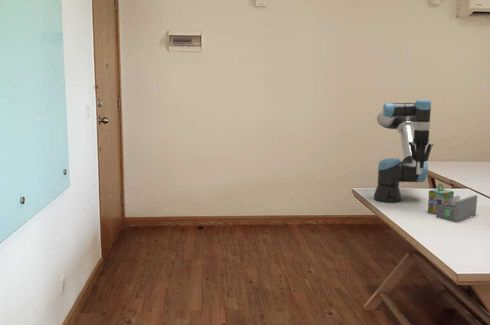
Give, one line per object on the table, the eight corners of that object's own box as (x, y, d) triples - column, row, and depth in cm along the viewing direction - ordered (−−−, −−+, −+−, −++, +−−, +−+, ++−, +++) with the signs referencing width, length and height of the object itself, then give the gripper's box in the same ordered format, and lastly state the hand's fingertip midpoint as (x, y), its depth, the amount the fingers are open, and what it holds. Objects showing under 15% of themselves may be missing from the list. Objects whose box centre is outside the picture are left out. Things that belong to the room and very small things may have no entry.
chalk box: (444, 216, 231) (446, 187, 229) (427, 212, 238) (428, 184, 236) (453, 212, 237) (455, 184, 234) (436, 209, 244) (437, 181, 241)
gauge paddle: (440, 216, 228) (441, 200, 226) (456, 210, 237) (457, 195, 236) (443, 216, 227) (444, 200, 225) (458, 210, 236) (459, 195, 235)
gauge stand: (435, 217, 229) (437, 197, 228) (455, 210, 241) (456, 191, 240) (456, 222, 221) (458, 202, 219) (476, 214, 233) (477, 195, 231)
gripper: (406, 129, 243) (404, 173, 247) (429, 131, 233) (426, 176, 237) (414, 128, 248) (412, 171, 252) (437, 130, 237) (434, 174, 242)
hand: (419, 173), depth 244 cm, fingers closed
